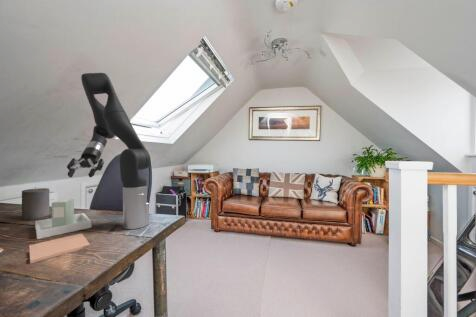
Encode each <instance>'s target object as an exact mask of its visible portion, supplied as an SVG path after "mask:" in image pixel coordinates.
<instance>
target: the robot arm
mask: <svg viewBox="0 0 476 317" xmlns="http://www.w3.org/2000/svg"><path fill="white" fill-rule="evenodd" d="M80 76H81V77H80V79H81V84H82V87H83V89H84V92H85V96H86V98H87V100H88V104H89V106H90V108H91V110H92V114H93V119H94V123H95V125H94V127H93V130H92V137H91V139H90V141H89V143H88V144H86V146H85V148H84V150H83V151H82V153H81V155H80V158H79V159H75V157H73V158H71V160H70V161H69V163H67V165H66V168H67V169H68V172H67V176H68V178H73V176H74V175H75V172H76V171H78V170H81V169H84V168H86V169H90V168H91V169H90V171H89V172H88V177H89V178H92V177H94V176H95V173H96V172H97V171H99V172H100V171H101V170H103V166H104V163H105V161H104V159H103V158H101V157H102V154H103V152H104V149H105V147H106V145H107V142H108V141H107V140H108V139H109V140H110V139H114V137H116V138H118V140H120V141H121V142H122V143H123V144H124V145H125V146H126V147H127V148H125V149H124V150H122V151H121V153H120V155H119V172H120V173H119V174H120V180H121V183H122V224H123V226H122V227H123V229H125V230H136V229H140V228H143V227H146V226H148V225H150V203H149V202H148V194H147V192H148V186H147V184H148V183H147V182H148V181H147V179H146V178H144V177H141V176H140V175H139V171H142V170H146V169H148V168H149V167H150V165H151V163H152V162H151V161H152V160H151V156H150V153H149V151H148V149H147V148H146V147H145V145H144V144H143V142H142V141H141V139H140V137H139V135H138V134H137V132H136V130H135V128H134V127H133V124H132V123H131V120H130V119H129V117H128V115H127V112H126V111H125V109H124V107H123V105H122V103H121V102H120V100H119V98H118V95H117V93H116V91H115V88H114V86H113V83H112V82H111V79H110V77H109V76H108V74H107V73H105V72H91V73H90V72H87V73H82V75H80ZM102 94H103V95H104V94H105V95H107V100H106V104H105V105H104V104H102V103H101V102H100V101H99V100H98V99H97V98H96V96H95V95H102ZM95 165H96V166H95Z"/></svg>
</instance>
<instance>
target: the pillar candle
mask: <svg viewBox="0 0 476 317" xmlns="http://www.w3.org/2000/svg"><path fill="white" fill-rule="evenodd" d="M48 216H50V188H47V187H46V188H45V187H42V188H41V187H39V188H37V187H36V186H35V187H34V188H28V189H24V190H21V220H22V221H23V220H24V222H26V221H27V222H28V221H35V220H36V221H37V219H40V218H44V217H48Z"/></svg>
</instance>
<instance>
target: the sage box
mask: <svg viewBox="0 0 476 317" xmlns="http://www.w3.org/2000/svg"><path fill="white" fill-rule="evenodd" d="M74 214H75V199H72V198H71V199H59V200H55V201H52V202H51V218H52V228H54V227H59V226H64V225H69V224H74Z"/></svg>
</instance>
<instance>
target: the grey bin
mask: <svg viewBox="0 0 476 317" xmlns="http://www.w3.org/2000/svg"><path fill="white" fill-rule="evenodd" d="M34 222H35V225H34V226H35V234H36V239H37V240H40V239H44V238H45V239H46V238H49V237H53V236H58V235H62V234H63V235H64V234H66V233H67V234H68V233H72V232H77V231H81V230H85V229H91V228H92V219H90V218H89V217H88V216H87V215H86V214H85V212H82V213H74V224H69V225H64V226H59V227H54V228H52V217H51V218H47V219H40V220H36V221H35V220H34Z"/></svg>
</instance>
